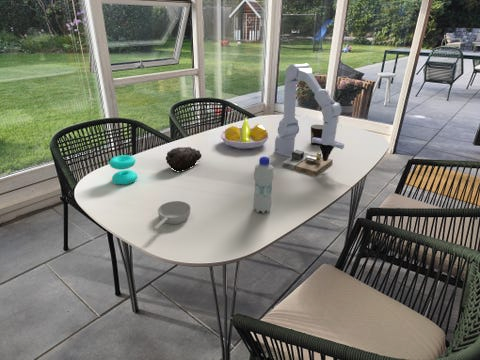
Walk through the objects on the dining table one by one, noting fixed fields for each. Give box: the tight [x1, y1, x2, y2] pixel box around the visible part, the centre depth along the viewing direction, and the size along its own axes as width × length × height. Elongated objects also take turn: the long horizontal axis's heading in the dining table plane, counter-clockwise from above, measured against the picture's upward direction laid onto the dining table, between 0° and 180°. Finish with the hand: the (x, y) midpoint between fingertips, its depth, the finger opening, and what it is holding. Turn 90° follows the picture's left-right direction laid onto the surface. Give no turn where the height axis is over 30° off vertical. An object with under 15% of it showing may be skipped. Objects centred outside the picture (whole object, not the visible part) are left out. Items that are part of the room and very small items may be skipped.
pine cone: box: [165, 146, 202, 172], centre depth 148 cm, size 10×18×10 cm, turn 149°
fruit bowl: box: [220, 117, 270, 150], centre depth 176 cm, size 28×27×11 cm
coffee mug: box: [310, 123, 323, 147], centre depth 179 cm, size 12×9×10 cm
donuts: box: [108, 154, 138, 185], centre depth 133 cm, size 10×10×10 cm
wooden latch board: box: [281, 152, 334, 177], centre depth 152 cm, size 17×18×2 cm
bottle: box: [253, 156, 274, 214], centre depth 110 cm, size 7×7×20 cm
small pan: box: [153, 200, 191, 230], centre depth 105 cm, size 11×18×4 cm, turn 163°
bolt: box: [305, 152, 322, 164], centre depth 149 cm, size 7×2×5 cm, turn 52°
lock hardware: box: [291, 149, 315, 164], centre depth 152 cm, size 11×5×3 cm, turn 52°
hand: (325, 160), depth 146 cm, fingers closed
